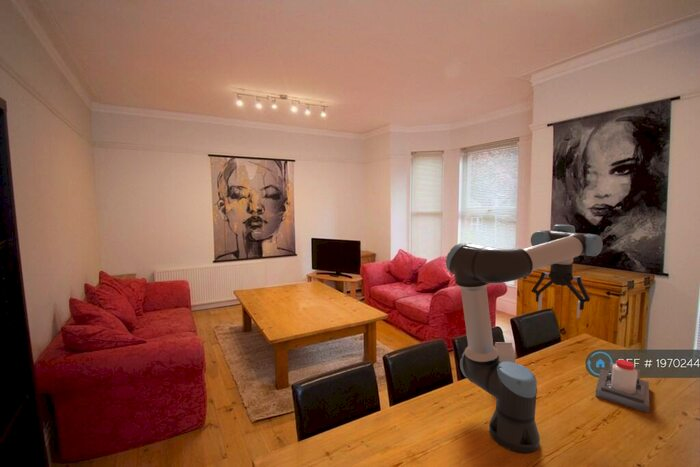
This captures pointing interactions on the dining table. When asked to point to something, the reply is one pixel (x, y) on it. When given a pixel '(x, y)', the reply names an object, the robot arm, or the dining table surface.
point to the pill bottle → (624, 377)
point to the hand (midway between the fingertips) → (558, 313)
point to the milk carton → (505, 351)
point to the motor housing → (630, 400)
